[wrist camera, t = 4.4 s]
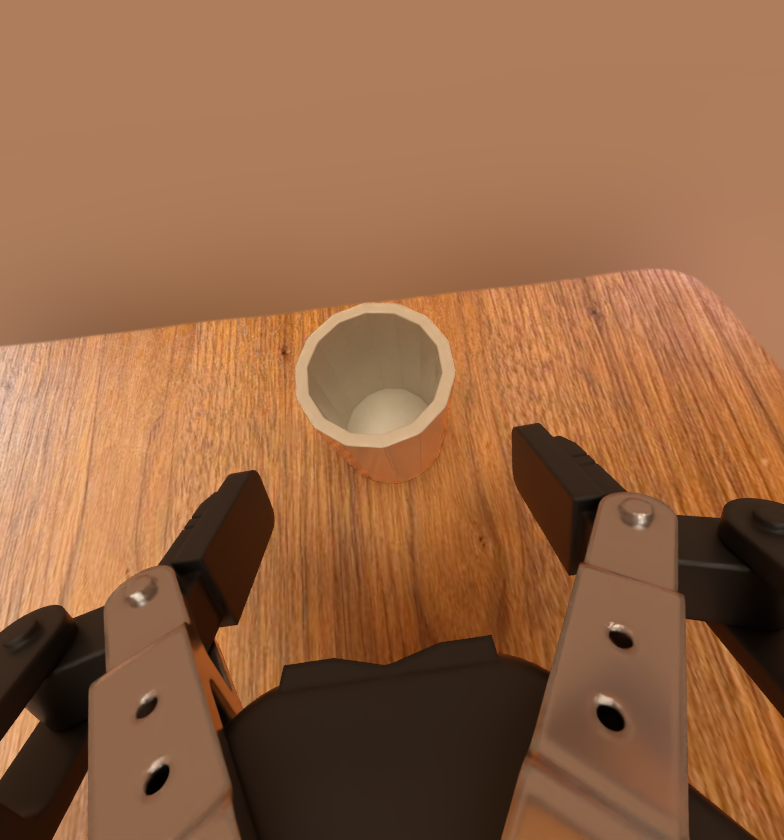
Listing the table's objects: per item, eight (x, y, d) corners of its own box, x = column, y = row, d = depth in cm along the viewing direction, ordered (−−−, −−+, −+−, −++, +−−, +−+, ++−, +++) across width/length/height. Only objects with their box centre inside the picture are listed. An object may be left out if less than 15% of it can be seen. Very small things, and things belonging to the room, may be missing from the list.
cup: (374, 369, 22) (348, 281, 15) (462, 413, 21) (483, 340, 13) (321, 450, 21) (262, 398, 13) (412, 504, 19) (403, 479, 12)
